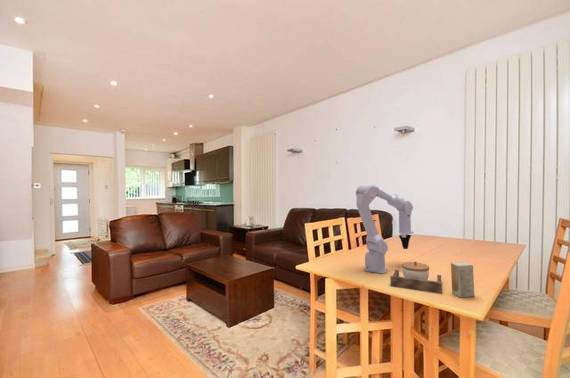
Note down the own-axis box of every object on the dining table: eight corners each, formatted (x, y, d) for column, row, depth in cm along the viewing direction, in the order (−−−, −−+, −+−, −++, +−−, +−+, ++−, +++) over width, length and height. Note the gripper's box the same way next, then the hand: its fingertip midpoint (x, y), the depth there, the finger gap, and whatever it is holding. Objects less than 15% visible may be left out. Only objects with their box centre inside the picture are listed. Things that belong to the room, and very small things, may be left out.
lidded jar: (427, 289, 109) (426, 266, 109) (400, 284, 115) (399, 262, 115) (431, 281, 118) (430, 260, 118) (405, 277, 124) (405, 257, 124)
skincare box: (466, 292, 105) (466, 261, 105) (475, 296, 100) (474, 264, 100) (450, 293, 105) (450, 262, 105) (458, 297, 100) (457, 265, 100)
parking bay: (390, 285, 114) (390, 276, 114) (395, 274, 128) (395, 266, 128) (441, 293, 104) (441, 283, 104) (441, 280, 118) (441, 271, 118)
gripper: (412, 225, 133) (412, 252, 133) (414, 222, 145) (414, 246, 145) (396, 224, 136) (397, 251, 136) (400, 221, 149) (400, 245, 149)
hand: (405, 248), depth 141 cm, fingers closed
